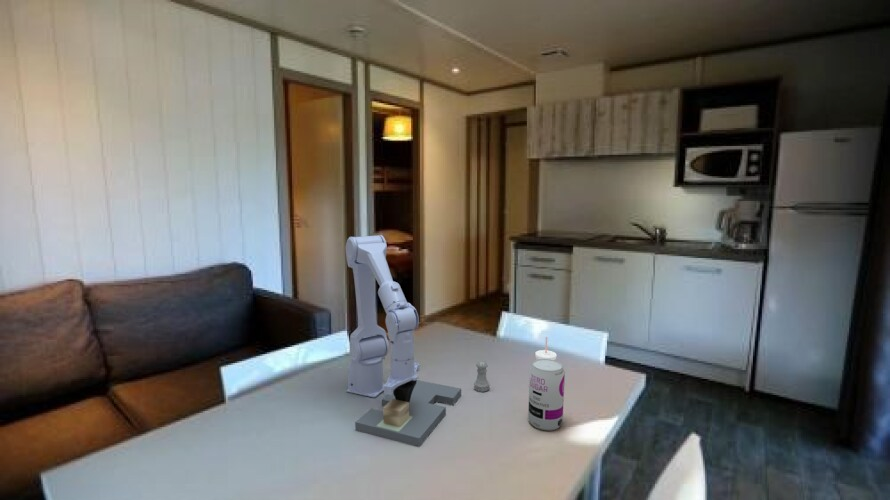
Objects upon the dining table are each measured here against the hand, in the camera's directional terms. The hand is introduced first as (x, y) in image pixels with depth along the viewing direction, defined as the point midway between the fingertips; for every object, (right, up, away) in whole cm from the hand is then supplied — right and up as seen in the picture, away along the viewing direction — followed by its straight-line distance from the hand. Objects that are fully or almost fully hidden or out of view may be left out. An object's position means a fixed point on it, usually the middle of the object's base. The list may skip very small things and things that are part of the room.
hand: (403, 409), depth 106 cm
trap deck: (+2, -2, +5) cm, 6 cm away
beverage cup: (+40, 0, +21) cm, 45 cm away
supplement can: (+35, -3, 0) cm, 35 cm away
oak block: (-1, -2, -3) cm, 4 cm away
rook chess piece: (+21, -1, +17) cm, 27 cm away
